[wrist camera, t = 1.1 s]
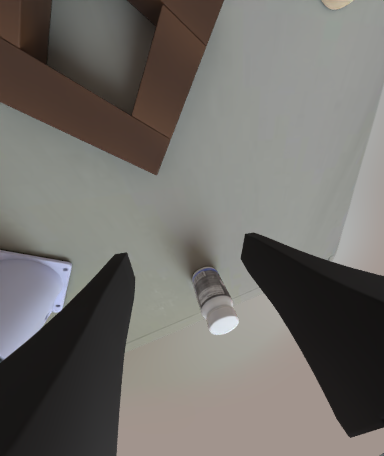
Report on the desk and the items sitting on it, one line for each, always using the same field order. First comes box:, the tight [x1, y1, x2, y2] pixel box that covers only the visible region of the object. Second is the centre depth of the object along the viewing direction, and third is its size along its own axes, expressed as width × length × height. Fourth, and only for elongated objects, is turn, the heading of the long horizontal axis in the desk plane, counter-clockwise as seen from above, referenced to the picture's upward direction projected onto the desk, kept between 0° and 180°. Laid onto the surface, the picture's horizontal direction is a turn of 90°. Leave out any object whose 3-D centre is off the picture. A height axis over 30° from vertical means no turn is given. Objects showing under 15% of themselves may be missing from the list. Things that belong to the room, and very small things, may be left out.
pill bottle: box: [192, 267, 239, 335], centre depth 21 cm, size 5×5×8 cm
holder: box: [0, 0, 224, 175], centre depth 10 cm, size 13×13×2 cm
